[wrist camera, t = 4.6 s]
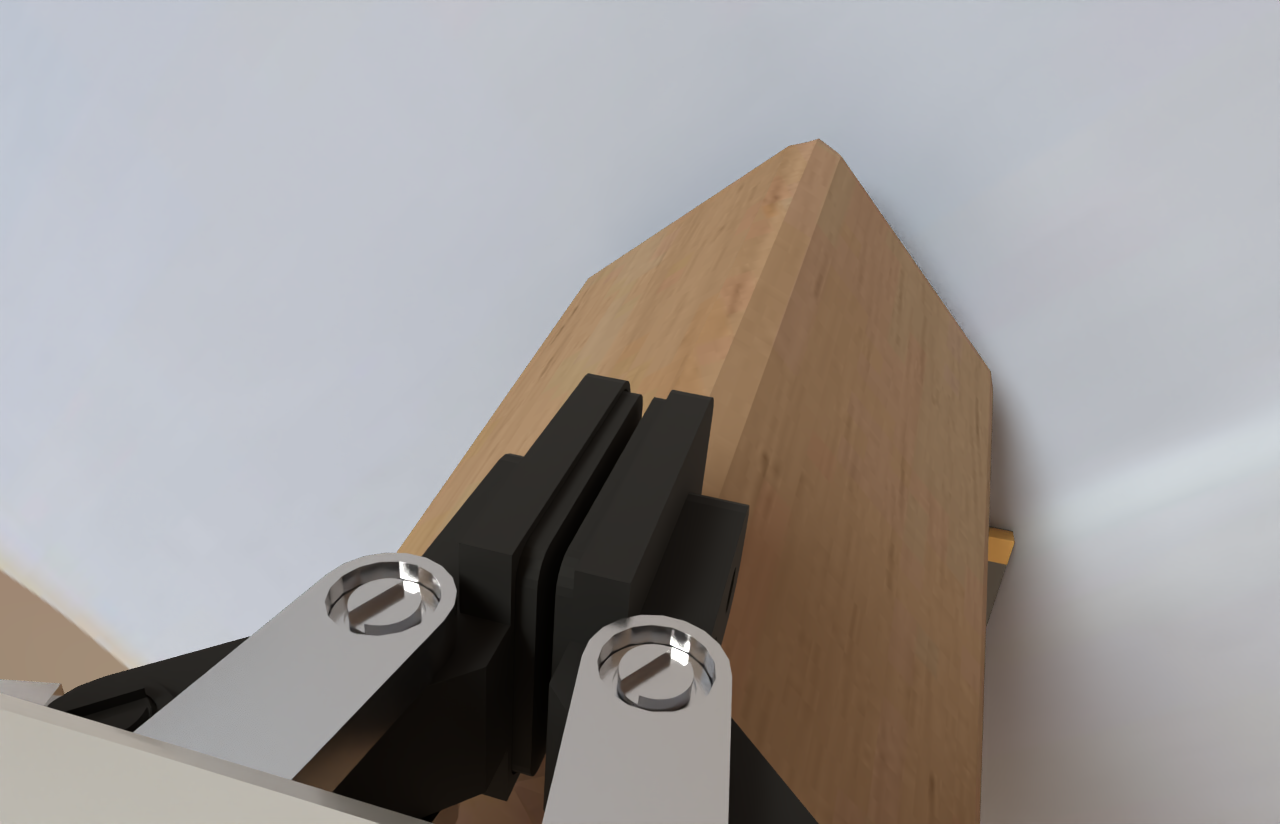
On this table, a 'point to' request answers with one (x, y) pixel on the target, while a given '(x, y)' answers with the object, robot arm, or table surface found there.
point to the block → (804, 480)
